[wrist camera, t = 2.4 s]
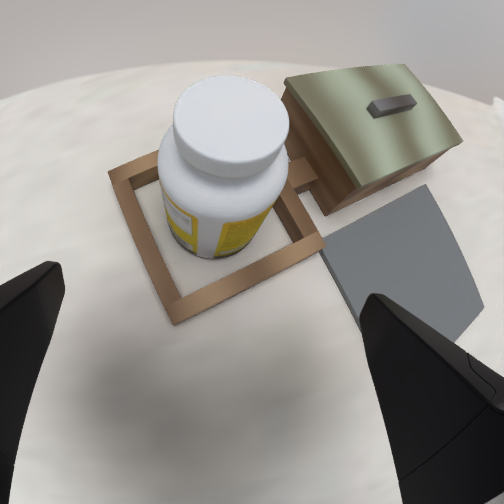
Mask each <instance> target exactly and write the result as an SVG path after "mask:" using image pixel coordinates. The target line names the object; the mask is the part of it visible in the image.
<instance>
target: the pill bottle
mask: <svg viewBox="0 0 504 504" xmlns="http://www.w3.org/2000/svg"><path fill="white" fill-rule="evenodd" d="M288 132H289V117H288V113H287V110H286V108H285V106H284V104H283V102H282V101H281V100H280V98H279V97H278V96H277V95H276V94H275V93H274V92H273V91H271V90H270V89H269V88H267V87H266V86H264V85H262V84H261V83H258V82H256V81H254V80H251V79H248V78H244V77H239V76H215V77H210V78H207V79H204V80H201V81H199V82H197V83H195V84H193V85H192V86H190V87H189V88H188V89H186V90H185V91H184V92H183V94H182V95H181V96H180V97H179V99H178V101H177V103H176V105H175V108H174V114H173V125H172V126H171V127H170V128H169V130H168V131H167V133H166V134H165V136H164V138H163V140H162V142H161V145H160V148H159V152H158V162H157V164H158V174H159V180H160V185H161V190H162V195H163V200H164V205H165V210H166V215H167V219H168V224H169V227H170V230H171V232H172V234H173V236H174V237H175V239H176V240H177V242H178V243H179V244H180V245H181V246H182V247H183V248H185V249H186V250H187V251H189V252H191V253H192V254H195V255H197V256H200V257H204V258H212V259H217V258H224V257H228V256H231V255H233V254H235V253H237V252H239V251H241V250H242V249H243V248H244V247H246V246H247V245H248V244H249V242H250V241H251V240H252V238H253V237H254V235H255V234H256V232H257V231H258V229H259V227H260V226H261V224H262V222H263V221H264V219H265V217H266V216H267V214H268V213H269V211H270V209H271V208H272V206H273V205H274V203H275V201H276V200H277V198H278V196H279V195H280V193H281V191H282V189H283V187H284V185H285V182H286V179H287V175H288V155H287V151H286V148H285V145H284V142H285V140H286V137H287V135H288Z"/></svg>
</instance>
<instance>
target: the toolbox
mask: <svg viewBox="0 0 504 504" xmlns="http://www.w3.org/2000/svg"><path fill="white" fill-rule="evenodd" d="M284 85H285V86H286V89H285V91H284V94H283V96H282V99H281V101H282V102H283V104H284V106H285V108H286V110H287V113H288V117H289V132H288V135H287V137H286V140H285V142H284V145H285V148H286V151H287V155H288V156H289V158H290V159H291V162H288V175H287V179H286V182H285V185H284V187H283V189H282V191H281V193H280V195H279V196H278V198H277V200H276V201H275V203H274V205H273V207H274V209H275V211H276V213H277V214H278V216H279V218H280V220H281V222H282V223H283V225H284V227H285V229H286V230H287V232H288V234H289V236H290V238H291V239H292V241H293V244H291V245H289V246H287V247H285V248H283V249H281V250H279V251H277V252H275V253H273V254H271V255H269V256H267V257H265V258H263V259H261V260H259V261H257V262H255V263H253V264H251V265H249V266H247V267H245V268H243V269H241V270H239V271H237V272H234V273H232V274H230V275H228V276H226V277H224V278H222V279H220V280H218V281H216V282H214V283H212V284H210V285H208V286H206V287H204V288H202V289H200V290H198V291H196V292H194V293H192V294H190V295H187V296H185V297H183V298H181V296H180V294H179V292H178V290H177V288H176V286H175V284H174V282H173V280H172V278H171V275H170V273H169V271H168V269H167V267H166V265H165V263H164V261H163V258H162V256H161V254H160V252H159V250H158V247H157V245H156V243H155V241H154V238H153V236H152V234H151V232H150V229H149V227H148V225H147V223H146V220H145V218H144V216H143V213H142V211H141V208H140V206H139V204H138V201H137V199H136V196H135V194H134V191H133V190H135V189H137V188H139V187H142V186H144V185H146V184H148V183H151V182H153V181H155V180H158V179H159V174H158V164H157V162H158V152H159V150H157V151H154V152H152V153H149V154H147V155H145V156H142V157H140V158H137V159H135V160H133V161H130V162H128V163H126V164H123V165H121V166H119V167H117V168H114V169H112V170H110V171H108V174H109V177H110V180H111V183H112V185H113V188H114V191H115V193H116V196H117V199H118V201H119V204H120V207H121V209H122V212H123V214H124V217H125V219H126V222H127V224H128V227H129V229H130V232H131V234H132V237H133V239H134V241H135V244H136V246H137V248H138V251H139V253H140V255H141V258H142V260H143V262H144V265H145V267H146V269H147V271H148V274H149V276H150V278H151V280H152V282H153V284H154V287H155V289H156V291H157V293H158V295H159V297H160V299H161V301H162V304H163V306H164V308H165V310H166V312H167V314H168V316H169V318H170V320H171V322H172V324H173V325H177V324H179V323H181V322H183V321H185V320H187V319H189V318H191V317H193V316H195V315H197V314H199V313H201V312H203V311H205V310H207V309H209V308H211V307H213V306H215V305H217V304H219V303H221V302H223V301H225V300H227V299H229V298H231V297H233V296H235V295H237V294H239V293H241V292H243V291H245V290H247V289H249V288H251V287H253V286H255V285H257V284H259V283H260V282H262V281H264V280H266V279H268V278H270V277H272V276H274V275H276V274H278V273H280V272H282V271H284V270H285V269H287V268H289V267H291V266H293V265H295V264H297V263H299V262H301V261H303V260H304V259H306V258H308V257H310V256H312V255H314V254H316V253H317V252H319V251H320V250H322V249H323V248H325V247H326V244H325V242H324V241H323V239H322V237H321V235H320V233H319V232H318V230H317V228H316V226H315V225H314V223H313V221H312V219H311V218H310V216H309V214H308V212H307V211H306V209H305V207H304V206H303V204H302V202H301V200H300V199H299V197H298V194H300V193H302V192H305V191H307V190H310V192H311V193H312V195H313V197H314V198H315V200H316V202H317V203H318V205H319V207H320V208H321V210H322V212H323V214H324V215H325V216H327V215H329V214H331V213H333V212H335V211H337V210H340V209H342V208H344V207H346V206H348V205H350V204H352V203H354V202H356V201H358V200H360V199H362V198H364V197H367V196H369V195H371V194H373V193H375V192H377V191H379V190H381V189H383V188H385V187H387V186H389V185H391V184H394V183H396V182H398V181H400V180H402V179H404V178H406V177H408V176H410V175H412V174H414V173H416V172H418V171H421V170H423V169H425V168H426V167H427V166H429V165H430V164H431V163H432V162H434V161H435V160H436V159H438V158H439V157H440V156H441V155H443V154H444V153H445V152H446V151H448V150H449V149H450V148H452V147H454V146H457V145H459V144H460V143H462V142H463V140H462V138H461V137H460V135H459V134H458V132H457V131H456V129H455V128H454V126H453V125H452V123H451V122H450V120H449V119H448V118H447V116H446V115H445V113H444V112H443V111H442V109H441V108H440V107H439V105H438V104H437V103H436V101H435V100H434V99H433V97H432V96H431V95H430V94H429V92H428V91H427V90H426V89H425V87H424V86H423V85H422V84H421V82H420V81H419V80H418V79H417V78H416V77H415V75H414V74H413V73H412V72H411V71H410V70H409V68H408V67H407V66H406V65H405V64H393V65H377V66H365V67H355V68H346V69H338V70H331V71H323V72H317V73H310V74H304V75H299V76H293V77H288V78H285V81H284Z"/></svg>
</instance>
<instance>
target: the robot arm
mask: <svg viewBox="0 0 504 504" xmlns="http://www.w3.org/2000/svg"><path fill="white" fill-rule="evenodd" d="M64 294H65V284H64V279H63V273H62V268H61V265H60V263H58V262H53V261H46V262H44V263H42V264H40V265H38V266H36V267H34V268H32V269H30V270H28V271H26V272H24V273H22V274H20V275H19V276H17V277H15V278H13V279H11V280H9V281H7V282H6V283H4V284H2V285H0V504H9V496H10V489H11V483H12V477H13V471H14V464H15V460H16V455H17V450H18V445H19V441H20V437H21V433H22V429H23V425H24V421H25V417H26V414H27V410H28V406H29V403H30V400H31V396H32V393H33V390H34V387H35V383H36V380H37V377H38V374H39V371H40V368H41V366H42V363H43V360H44V357H45V354H46V352H47V349H48V346H49V344H50V341H51V338H52V335H53V331H54V328H55V324H56V321H57V317H58V314H59V310H60V307H61V304H62V301H63V297H64ZM359 323H360V328H361V332H362V337H363V342H364V347H365V352H366V357H367V362H368V366H369V369H370V373H371V376H372V380H373V383H374V386H375V390H376V393H377V397H378V401H379V404H380V408H381V412H382V415H383V419H384V423H385V427H386V431H387V435H388V439H389V443H390V447H391V451H392V455H393V459H394V464H395V468H396V473H397V477H398V481H399V482H398V483H399V487H400V492H401V497H402V502H403V504H504V377H502V376H501V375H499V374H498V373H496V372H495V371H493V370H492V369H490V368H489V367H487V366H486V365H484V364H483V363H482V362H480V361H479V360H477V359H476V358H474V357H473V356H472V355H470V354H469V353H466V351H465V350H463V349H462V348H460V347H459V346H458V345H456V344H455V343H453V342H452V341H451V340H449V339H448V338H446V337H445V336H444V335H442V334H441V333H439V332H438V331H436V330H435V329H434V328H432V327H431V326H429V325H428V324H426V323H425V322H423V321H422V320H421V319H419V318H418V317H416V316H415V315H413V314H412V313H410V312H409V311H407V310H406V309H404V308H403V307H402V306H400V305H399V304H397V303H396V302H394V301H393V300H391V299H390V298H388V297H387V296H385V295H384V294H381V293H371V294H369V296H368V297H367V299H366V302H365V304H364V306H363V308H362V310H361V312H360V316H359Z"/></svg>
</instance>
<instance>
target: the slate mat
mask: <svg viewBox="0 0 504 504" xmlns="http://www.w3.org/2000/svg"><path fill="white" fill-rule="evenodd" d="M323 241H324V242H325V244H326V247H325V248H323V249H322V250H320V251H319V252H320V254H321V256H322V258H323V260H324V262H325V263H326V265H327V267H328V269H329V271H330V273H331V274H332V276H333V278H334V280H335V282H336V284H337V286H338V288H339V290H340V291H341V293H342V295H343V297H344V299H345V301H346V303H347V305H348V307H349V309H350V311H351V313H352V315H353V317H354V319H355V321H356V322H357V324H358V326H359V328H360V323H359V316H360V312H361V310H362V308H363V306H364V304H365V302H366V299H367V297H368V296H369V294H371V293H381V294H384V295H385V296H387V297H388V298H390V299H391V300H393V301H394V302H396V303H397V304H399V305H400V306H402V307H403V308H404V309H406V310H407V311H409V312H410V313H412V314H413V315H415V316H416V317H418V318H419V319H421V320H422V321H423V322H425V323H426V324H428V325H429V326H431V327H432V328H434V329H435V330H436V331H438V332H439V333H441V334H442V335H444V336H445V337H446V338H448V339H449V340H451V341H452V342H453V343H454V342H455V341H456V340H457V339H458V337H459V336H460V335H461V334H462V333H463V332H464V331H465V330H466V329H467V327H468V326H469V325H470V324H471V323H472V322H473V321H474V319H475V318H476V317H477V316H478V315H479V313H480V312H481V311H482V310H483V309H484V305H483V302H482V299H481V297H480V294H479V292H478V289H477V287H476V284H475V282H474V279H473V277H472V275H471V272H470V270H469V268H468V265H467V263H466V261H465V258H464V256H463V254H462V252H461V250H460V248H459V246H458V243H457V241H456V239H455V237H454V235H453V233H452V231H451V229H450V227H449V225H448V223H447V221H446V220H445V218H444V216H443V214H442V212H441V210H440V208H439V206H438V205H437V203H436V201H435V199H434V197H433V196H432V194H431V192H430V191H429V189H428V187H427V185H426V184H425V185H423V186H421V187H419V188H417V189H415V190H414V191H412V192H410V193H408V194H406V195H404V196H402V197H401V198H399V199H397V200H395V201H393V202H391V203H389V204H387V205H386V206H384V207H382V208H380V209H378V210H376V211H374V212H372V213H371V214H369V215H367V216H365V217H363V218H361V219H359V220H357V221H355V222H353V223H352V224H350V225H348V226H346V227H344V228H342V229H340V230H338V231H336V232H334V233H332V234H331V235H329V236H327V237H325V238H323ZM360 330H361V328H360Z"/></svg>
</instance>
